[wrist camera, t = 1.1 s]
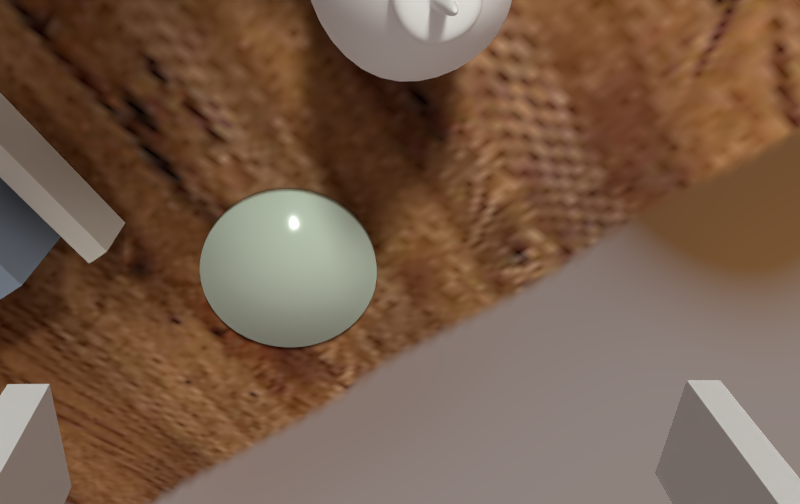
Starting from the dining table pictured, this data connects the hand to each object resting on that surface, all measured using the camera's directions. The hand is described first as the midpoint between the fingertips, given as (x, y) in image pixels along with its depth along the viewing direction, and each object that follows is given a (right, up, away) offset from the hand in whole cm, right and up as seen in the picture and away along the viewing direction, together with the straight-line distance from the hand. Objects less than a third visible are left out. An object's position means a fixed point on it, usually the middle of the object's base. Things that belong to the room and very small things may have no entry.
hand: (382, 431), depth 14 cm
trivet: (-6, +3, +25) cm, 26 cm away
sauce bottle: (0, +18, +18) cm, 26 cm away
